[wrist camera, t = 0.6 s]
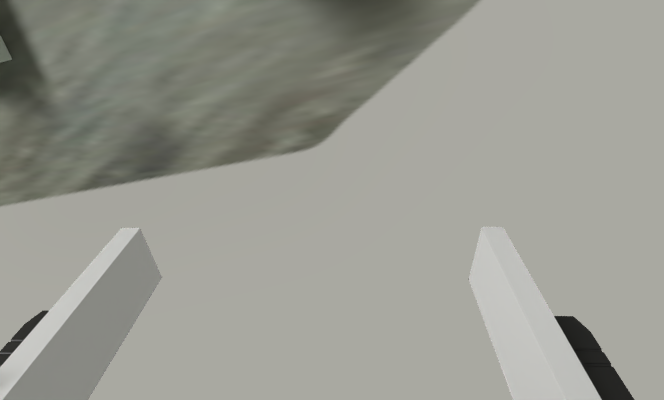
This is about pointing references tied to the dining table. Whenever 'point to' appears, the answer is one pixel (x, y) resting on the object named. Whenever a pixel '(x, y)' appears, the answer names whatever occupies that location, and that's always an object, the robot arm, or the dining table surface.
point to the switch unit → (4, 52)
